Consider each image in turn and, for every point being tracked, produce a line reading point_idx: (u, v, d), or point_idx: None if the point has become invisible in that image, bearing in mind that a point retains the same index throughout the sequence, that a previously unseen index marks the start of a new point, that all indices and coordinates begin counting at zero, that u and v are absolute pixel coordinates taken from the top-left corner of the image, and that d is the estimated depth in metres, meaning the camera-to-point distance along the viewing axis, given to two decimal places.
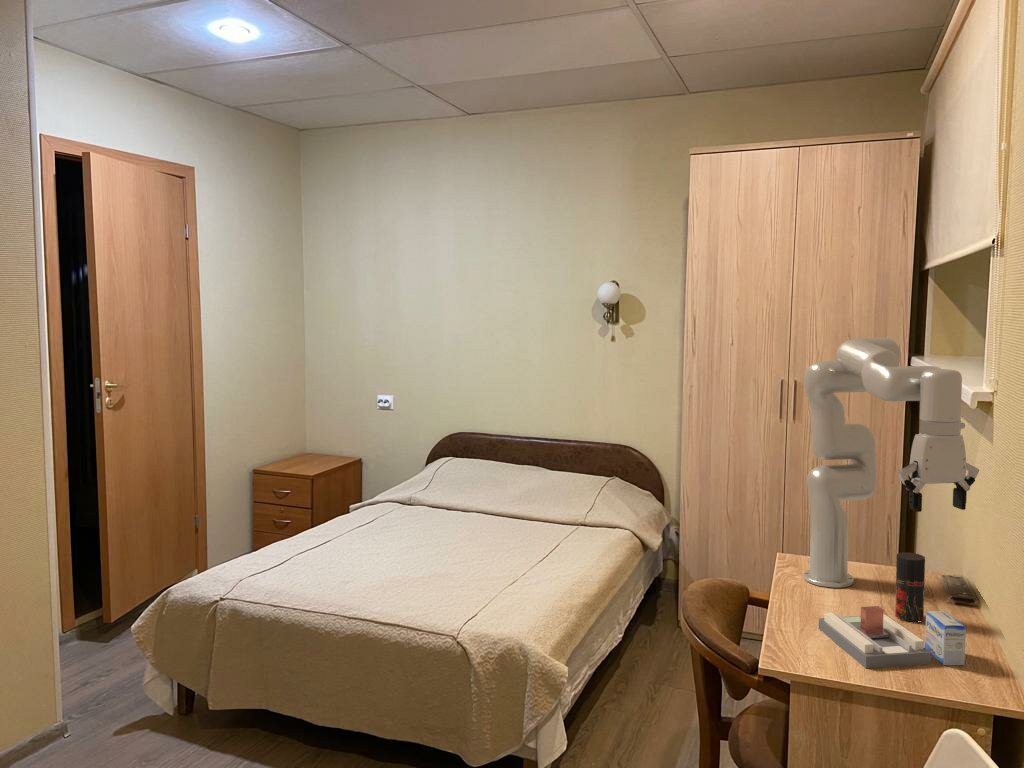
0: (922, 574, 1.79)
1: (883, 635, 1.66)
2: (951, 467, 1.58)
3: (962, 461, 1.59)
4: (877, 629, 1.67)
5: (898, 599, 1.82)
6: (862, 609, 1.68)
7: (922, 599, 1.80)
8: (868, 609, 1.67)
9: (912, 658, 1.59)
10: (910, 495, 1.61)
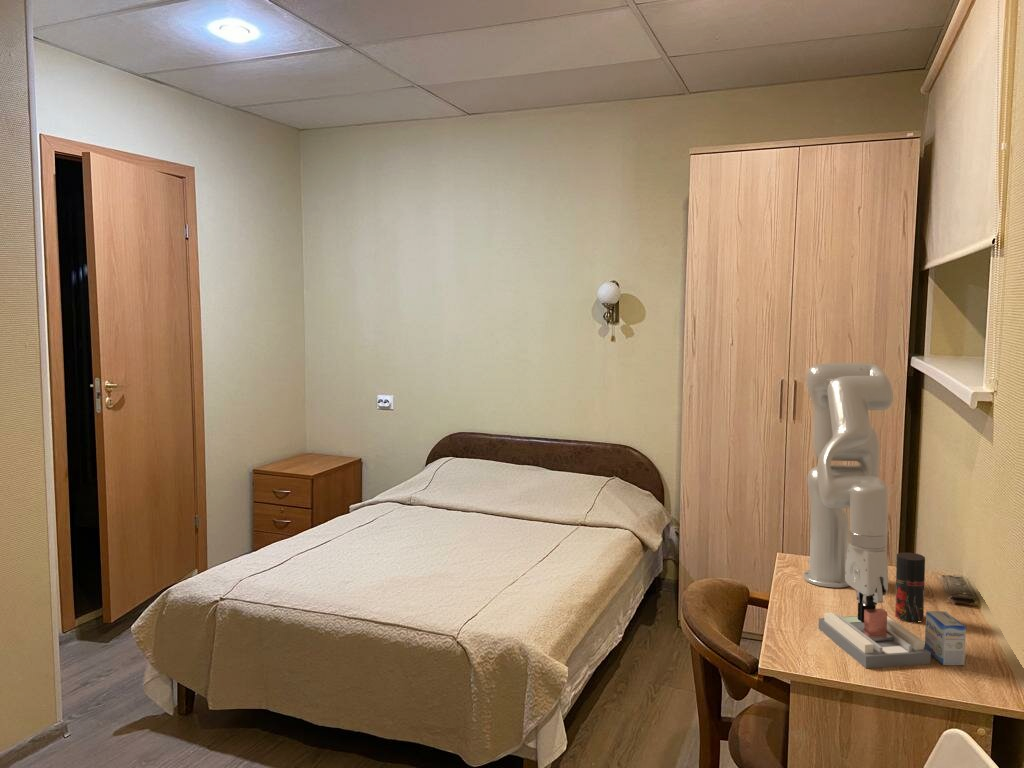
0: (922, 574, 1.79)
1: (887, 638, 1.64)
2: None
3: None
4: (881, 632, 1.66)
5: (898, 599, 1.82)
6: (865, 611, 1.66)
7: (922, 599, 1.80)
8: (872, 611, 1.66)
9: (912, 658, 1.59)
10: None
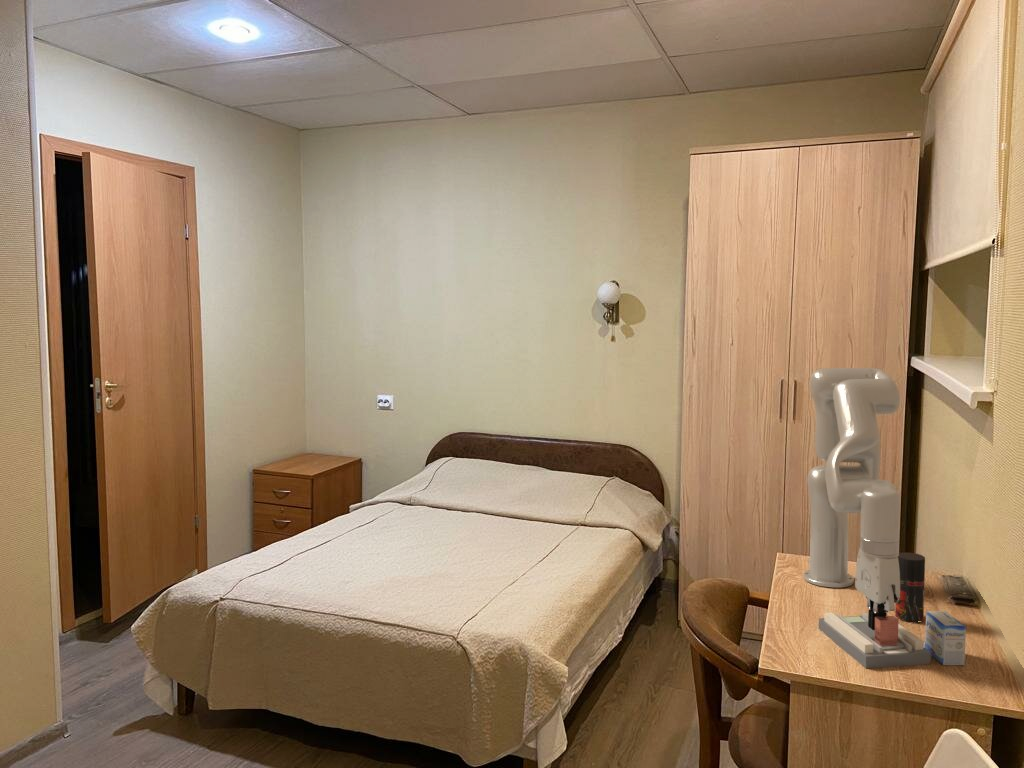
0: (922, 574, 1.79)
1: (898, 646, 1.60)
2: None
3: None
4: (892, 640, 1.62)
5: None
6: (876, 619, 1.62)
7: (922, 599, 1.80)
8: (883, 619, 1.62)
9: (912, 658, 1.59)
10: None
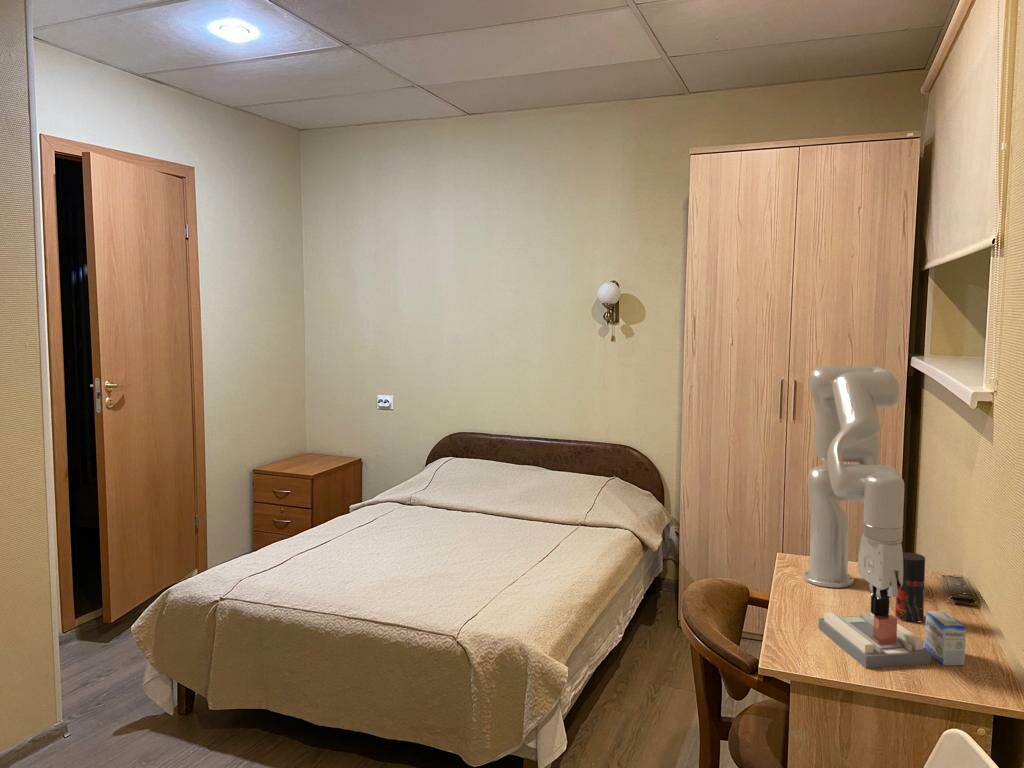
0: (922, 574, 1.79)
1: (897, 645, 1.61)
2: None
3: None
4: (890, 639, 1.62)
5: (898, 599, 1.82)
6: (875, 618, 1.63)
7: (922, 599, 1.80)
8: (881, 618, 1.62)
9: (912, 658, 1.59)
10: (882, 603, 1.63)
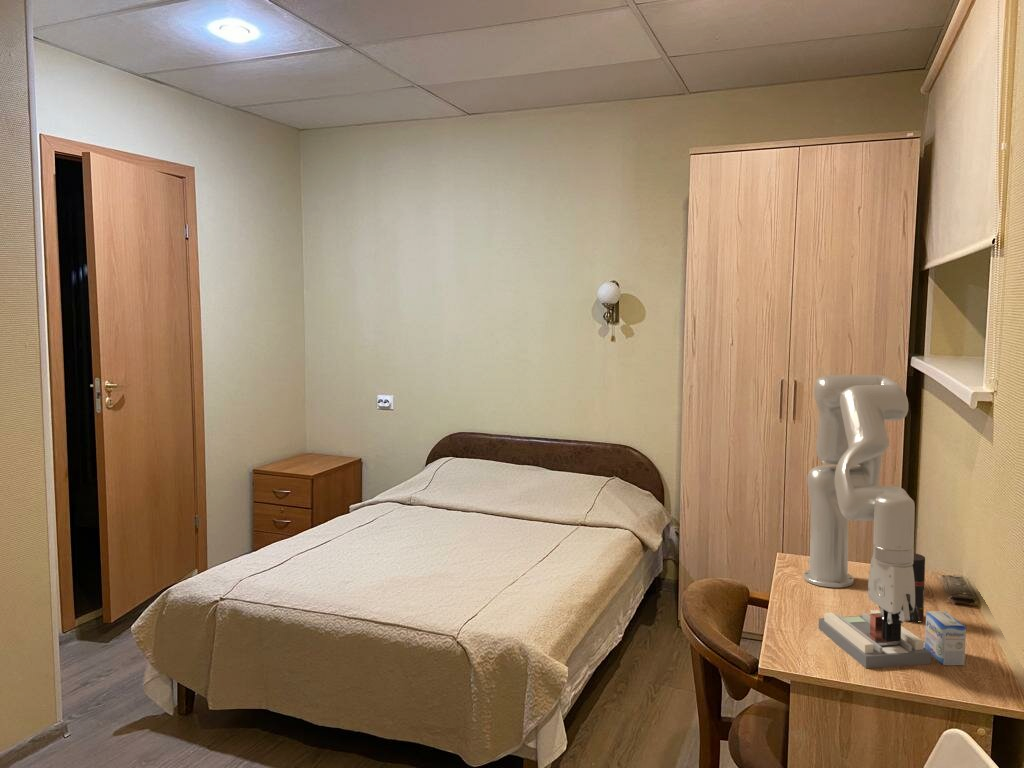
0: (922, 574, 1.79)
1: (893, 642, 1.62)
2: None
3: None
4: None
5: None
6: (872, 616, 1.64)
7: (922, 599, 1.80)
8: (878, 616, 1.63)
9: (912, 658, 1.59)
10: (894, 628, 1.59)
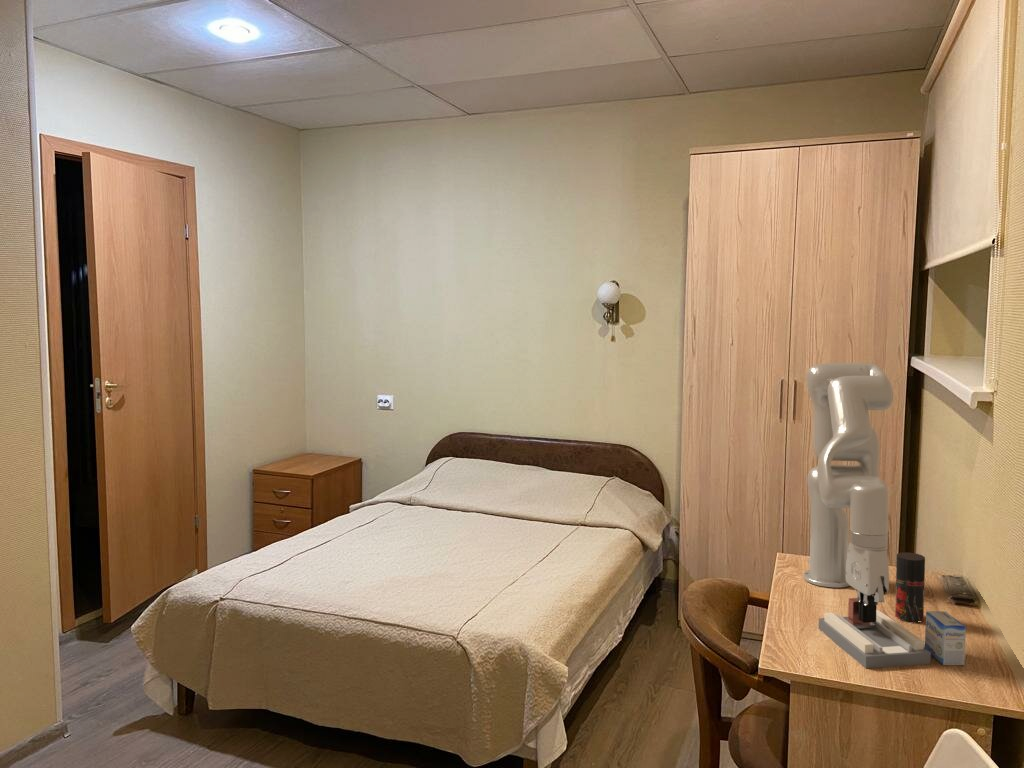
0: (922, 574, 1.79)
1: (870, 625, 1.71)
2: None
3: None
4: None
5: (898, 599, 1.82)
6: (850, 600, 1.73)
7: (922, 599, 1.80)
8: (855, 600, 1.72)
9: (912, 658, 1.59)
10: (869, 609, 1.68)
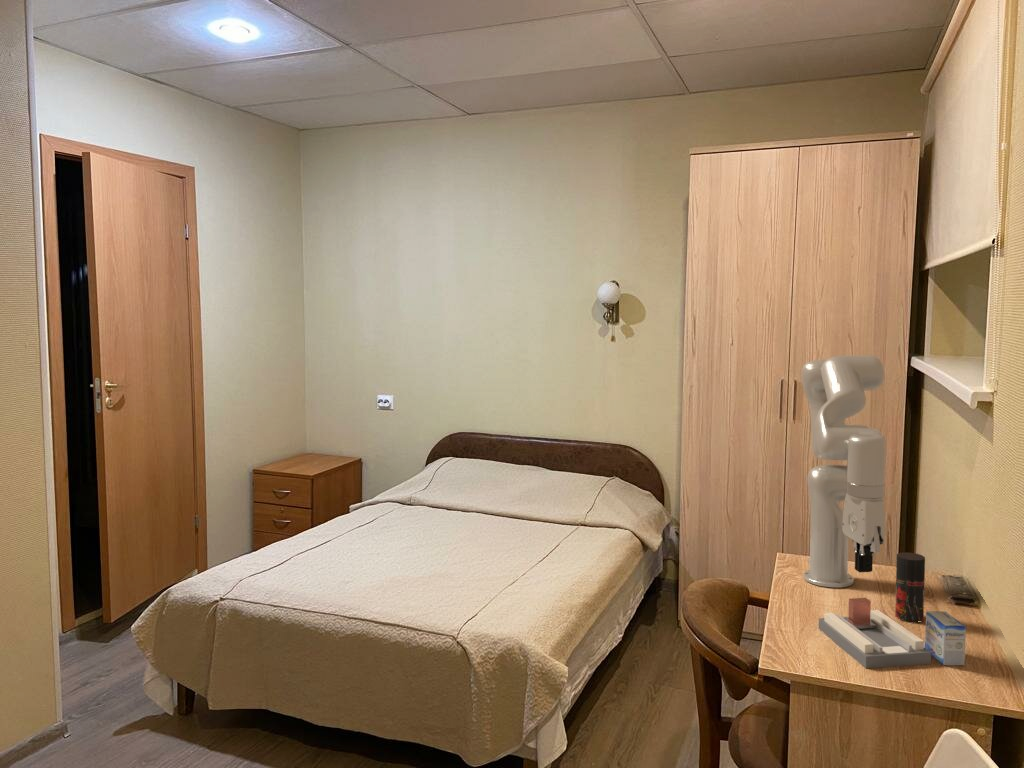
0: (922, 574, 1.79)
1: (870, 626, 1.71)
2: None
3: None
4: (864, 620, 1.72)
5: (898, 599, 1.82)
6: (850, 600, 1.73)
7: (922, 599, 1.80)
8: (856, 600, 1.72)
9: (912, 658, 1.59)
10: (866, 559, 1.69)
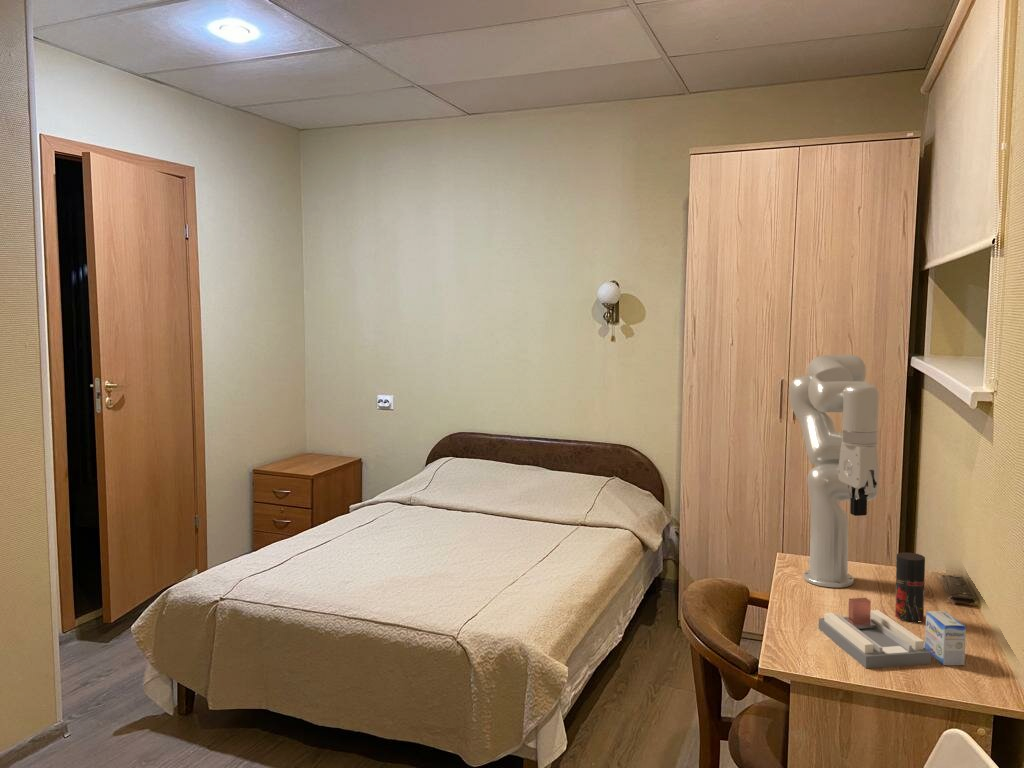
0: (922, 574, 1.79)
1: (870, 626, 1.71)
2: None
3: None
4: (864, 620, 1.72)
5: (898, 599, 1.82)
6: (850, 600, 1.73)
7: (922, 599, 1.80)
8: (856, 600, 1.72)
9: (912, 658, 1.59)
10: (860, 503, 1.80)
